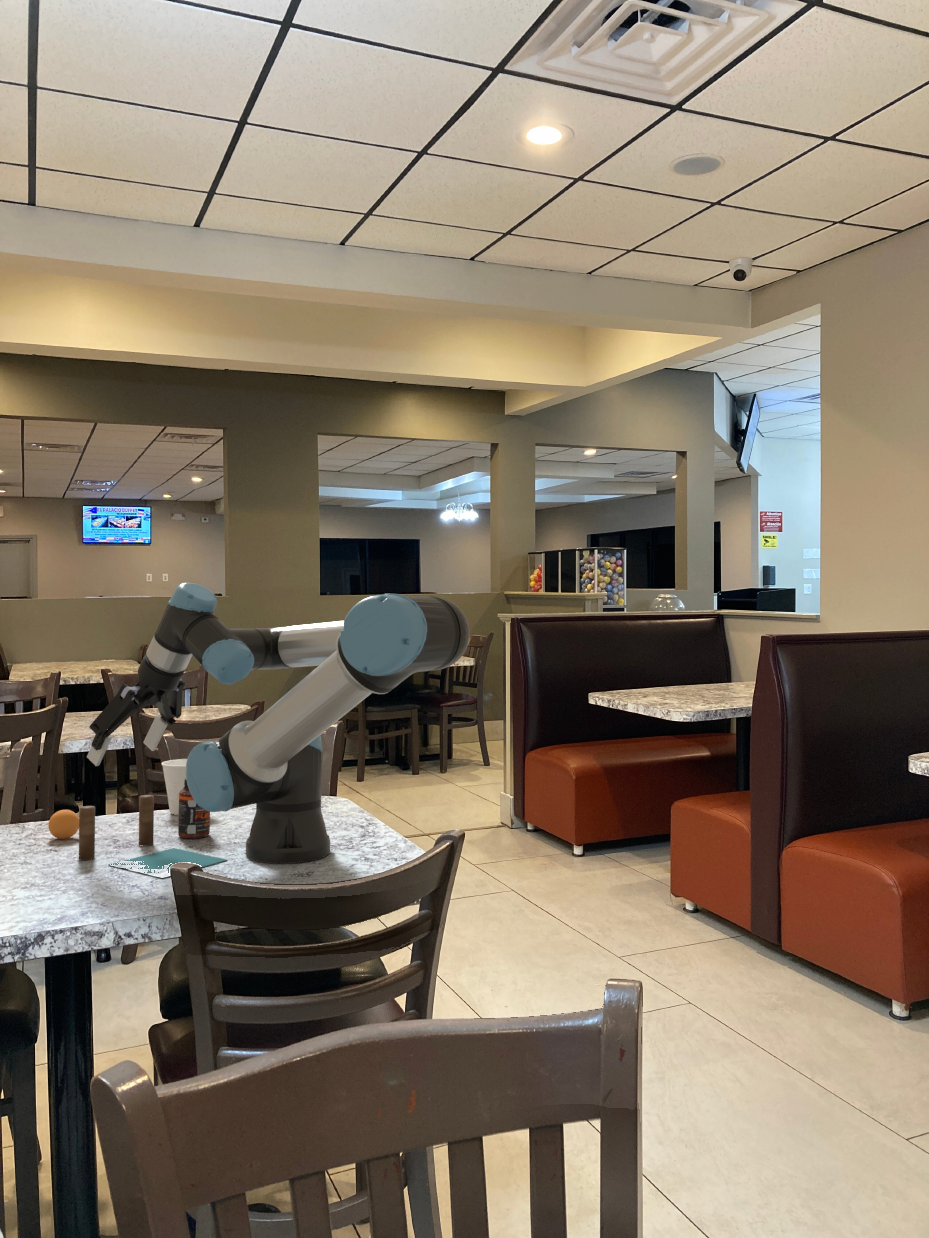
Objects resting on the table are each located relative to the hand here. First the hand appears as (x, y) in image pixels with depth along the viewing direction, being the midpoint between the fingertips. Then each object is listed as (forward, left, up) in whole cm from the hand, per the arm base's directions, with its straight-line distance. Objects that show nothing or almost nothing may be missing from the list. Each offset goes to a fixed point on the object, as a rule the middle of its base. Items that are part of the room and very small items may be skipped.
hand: (121, 753), depth 175 cm
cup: (+12, -26, -17) cm, 33 cm away
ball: (+12, +3, -14) cm, 19 cm away
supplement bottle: (-6, -13, -17) cm, 22 cm away
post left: (-4, +10, -17) cm, 20 cm away
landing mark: (-18, +3, -17) cm, 25 cm away
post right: (-4, -3, -17) cm, 18 cm away
